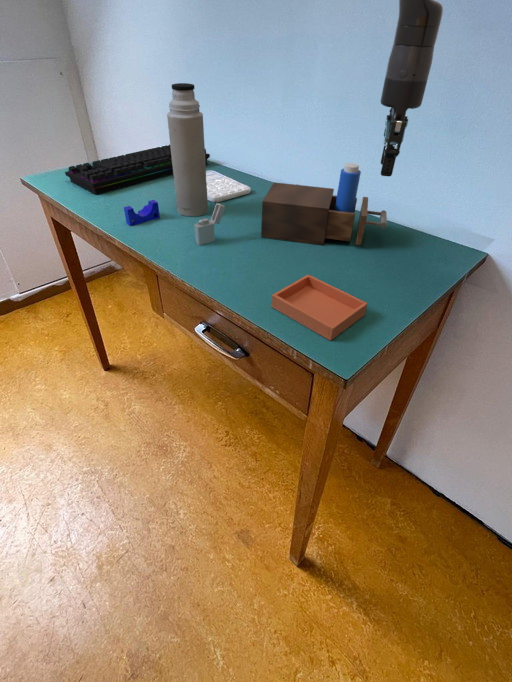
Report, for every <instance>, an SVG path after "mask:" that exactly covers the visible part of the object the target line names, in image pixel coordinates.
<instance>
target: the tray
mask: <svg viewBox="0 0 512 682" xmlns="http://www.w3.org/2000/svg"><path fill="white" fill-rule="evenodd" d="M368 304H369V303H368V302H366V301H364V300H362V299H360V298H358V297H355V296H353V295H352V294H349V293H348V292H346V291H343V290H341V289H339V288H337V287H336V286H333V285H331V284H329V283H327V282H325V281H323V280H321V279H319V278H317V277H315V276H312V275H310V274H306V275H304V276H303V277H301V278H300V279H297V280H296V281H294V282H292V283H291V284H289V285H287V286H285V287H284V288H281V289H280V290H278V291H277V292H275V293H273V294H272V295H271V308H273V309H274V310H276V311H278V312H280V313H281V314H283V315H285V316H286V317H288V318H290V319H292V320H293V321H295V322H297V323H299V324H301V325H302V326H304V327H306V328H307V329H308V330H311V331H312V332H314V333H316V334H318V335H319V336H321V337H323V338H324V339H327V340H328V341H330V342H331V341H333V340H334V339H335V338H337V337H338V336H339V335H341V334H342V333H343V332H344V331H346V330H347V329H349V328H350V327H352V326H353V325H354V324H355V323H357V322H358V321H359V320H361V319H362V318H363V317H365V315H366V312H367V308H368Z"/></svg>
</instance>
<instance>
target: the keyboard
mask: <svg viewBox="0 0 512 682" xmlns="http://www.w3.org/2000/svg"><path fill="white" fill-rule="evenodd" d="M210 157H211V154H210V153H207V148H205V163H206V166H208V159H210ZM64 174H65V176H66V177H68V178H69V180H70V183H72V184H74V185H76V186H78V187H80V188H82V189H84V190H85V191H88V192H89V193H91V194H93V195H95V196H98V195H103V194H107V193H110V192H114V191H117V190H121V189H125V188H128V187H131V186H132V187H133V186H135V185H139V184H143V183H146V182H150V181H153V180H158V179H161V178H164V177H169V176H172V175H173V165H172V156H171V147H170V144H166V145H161V146H157V147H151V148H148V149H143V150H139V151H135V152H130V153H126V154H121V155H117V156H111V157H109V158H103V159H99V160H94V161H92V165H91V164H90V163H89V162H84V163H83V164H81V163H80V164H76V165H71V166H68V170H67V171H64Z"/></svg>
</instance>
